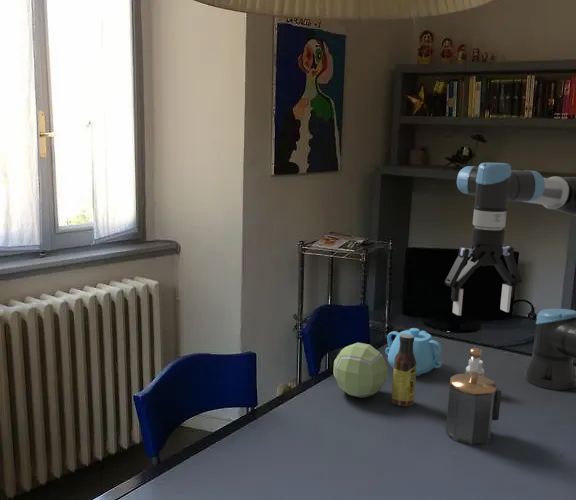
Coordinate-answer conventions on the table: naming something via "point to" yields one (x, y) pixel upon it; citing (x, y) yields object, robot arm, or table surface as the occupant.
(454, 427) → the press body
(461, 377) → the plunger
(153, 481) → the table surface
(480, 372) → the supplement bottle
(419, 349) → the decorative pot
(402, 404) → the sauce bottle
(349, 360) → the decorative sphere
